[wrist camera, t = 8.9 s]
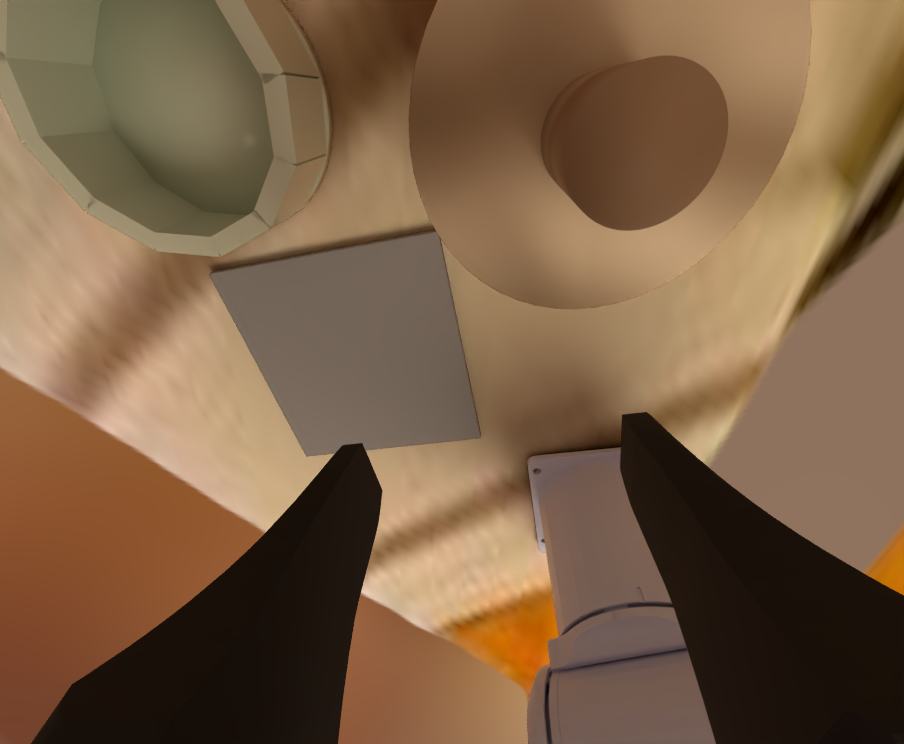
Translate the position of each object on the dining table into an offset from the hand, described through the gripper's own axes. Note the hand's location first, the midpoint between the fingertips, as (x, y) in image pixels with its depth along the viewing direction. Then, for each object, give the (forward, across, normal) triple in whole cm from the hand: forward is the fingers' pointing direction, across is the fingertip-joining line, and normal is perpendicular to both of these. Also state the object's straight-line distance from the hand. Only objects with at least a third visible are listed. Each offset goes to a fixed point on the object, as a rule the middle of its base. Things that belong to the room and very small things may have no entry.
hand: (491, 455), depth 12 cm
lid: (+6, -4, -7) cm, 10 cm away
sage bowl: (+10, +9, -10) cm, 17 cm away
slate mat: (+10, +7, +2) cm, 12 cm away
